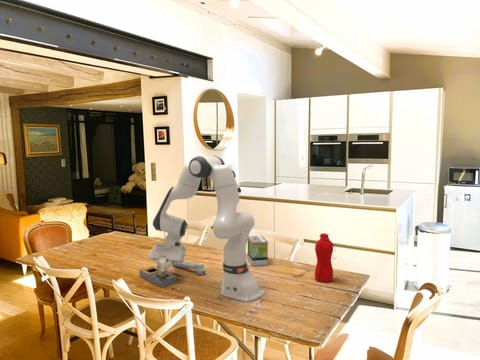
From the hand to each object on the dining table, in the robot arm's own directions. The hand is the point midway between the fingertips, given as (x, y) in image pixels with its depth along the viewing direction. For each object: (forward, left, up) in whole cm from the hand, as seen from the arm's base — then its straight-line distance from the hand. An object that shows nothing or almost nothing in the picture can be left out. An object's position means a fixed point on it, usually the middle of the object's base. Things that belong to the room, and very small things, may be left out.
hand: (161, 268), depth 194 cm
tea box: (-15, -59, -8) cm, 61 cm away
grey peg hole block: (+6, -1, -8) cm, 10 cm away
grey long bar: (+4, -21, -8) cm, 23 cm away
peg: (0, -1, -8) cm, 8 cm away
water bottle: (-61, -63, -8) cm, 88 cm away
